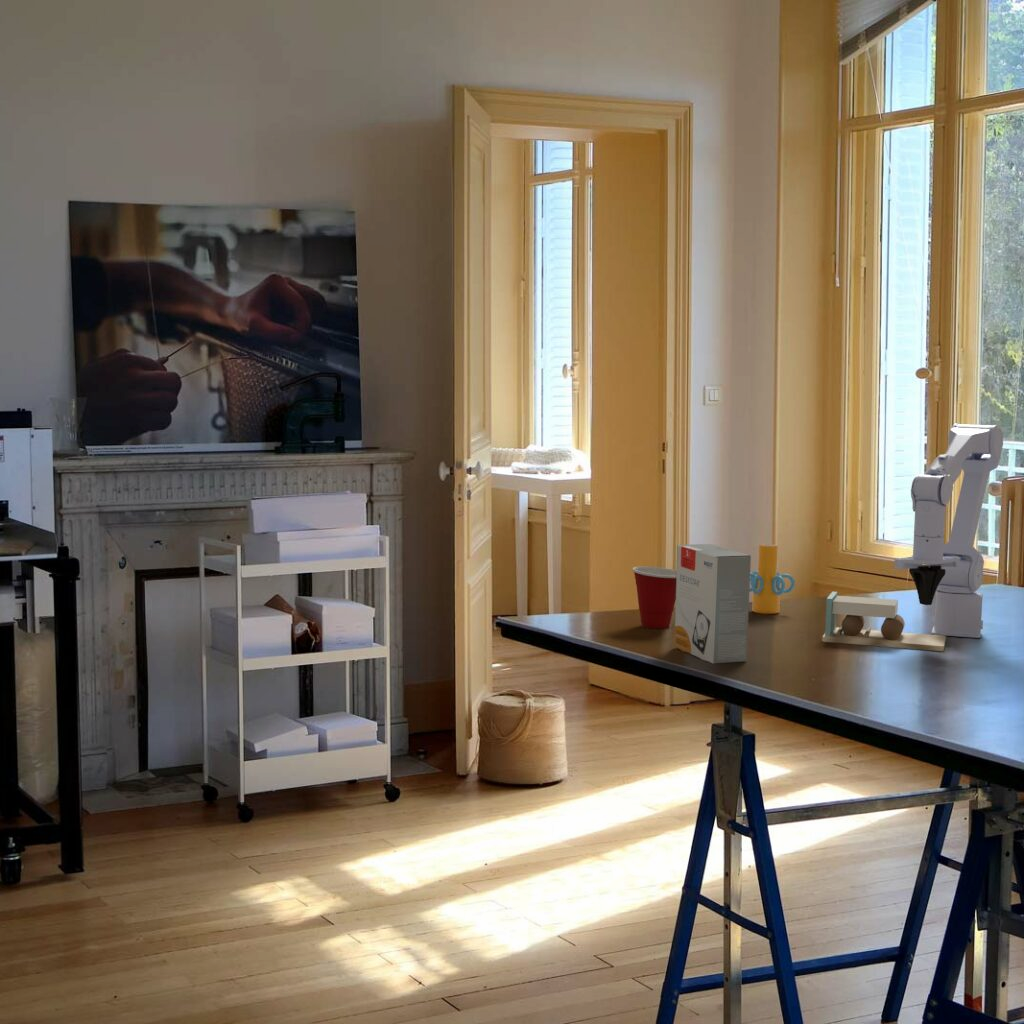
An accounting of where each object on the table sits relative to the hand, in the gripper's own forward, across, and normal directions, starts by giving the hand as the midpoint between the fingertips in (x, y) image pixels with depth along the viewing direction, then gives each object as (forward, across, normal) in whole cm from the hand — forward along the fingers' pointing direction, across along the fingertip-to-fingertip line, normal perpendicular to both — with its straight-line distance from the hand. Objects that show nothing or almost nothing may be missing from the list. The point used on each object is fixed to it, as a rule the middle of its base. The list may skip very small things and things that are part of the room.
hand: (925, 604), depth 279 cm
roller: (+7, +10, -9) cm, 15 cm away
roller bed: (+8, +6, -5) cm, 11 cm away
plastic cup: (+8, +42, -32) cm, 54 cm away
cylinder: (+8, +10, -42) cm, 44 cm away
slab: (+3, +9, -8) cm, 12 cm away
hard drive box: (+8, +47, -3) cm, 48 cm away
